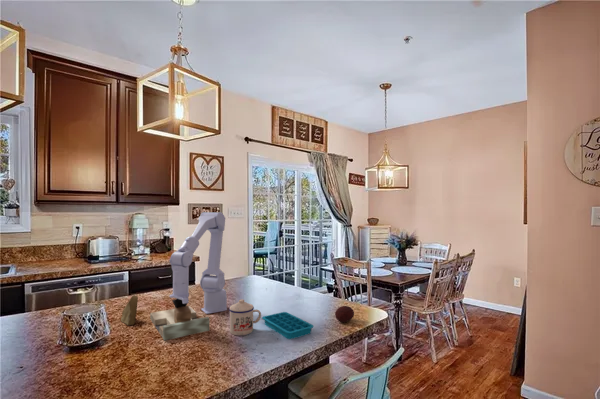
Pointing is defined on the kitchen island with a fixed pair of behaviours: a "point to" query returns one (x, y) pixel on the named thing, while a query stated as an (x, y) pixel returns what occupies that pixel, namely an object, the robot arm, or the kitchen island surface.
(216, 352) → the kitchen island surface
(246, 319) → the teacup with lid
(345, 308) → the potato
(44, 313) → the kitchen island surface
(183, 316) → the block
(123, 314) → the rock
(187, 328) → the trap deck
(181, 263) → the robot arm
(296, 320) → the ice cube tray
